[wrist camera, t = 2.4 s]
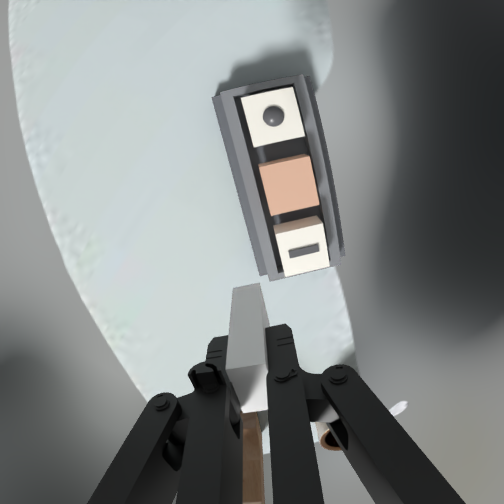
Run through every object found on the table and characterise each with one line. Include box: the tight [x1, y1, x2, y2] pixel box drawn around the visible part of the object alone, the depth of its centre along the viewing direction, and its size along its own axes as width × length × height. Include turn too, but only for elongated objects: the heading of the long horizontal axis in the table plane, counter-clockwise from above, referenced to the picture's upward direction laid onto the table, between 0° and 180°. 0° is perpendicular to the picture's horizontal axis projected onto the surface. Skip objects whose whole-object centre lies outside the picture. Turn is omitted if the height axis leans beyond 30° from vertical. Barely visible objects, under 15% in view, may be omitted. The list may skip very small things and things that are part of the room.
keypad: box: [212, 74, 345, 281], centre depth 33 cm, size 22×11×4 cm, turn 14°
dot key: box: [241, 87, 305, 147], centre depth 28 cm, size 5×5×3 cm
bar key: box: [273, 215, 330, 277], centre depth 33 cm, size 5×5×3 cm
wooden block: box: [240, 411, 265, 504], centre depth 44 cm, size 9×4×18 cm, turn 8°
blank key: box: [258, 154, 319, 216], centre depth 30 cm, size 5×5×3 cm
